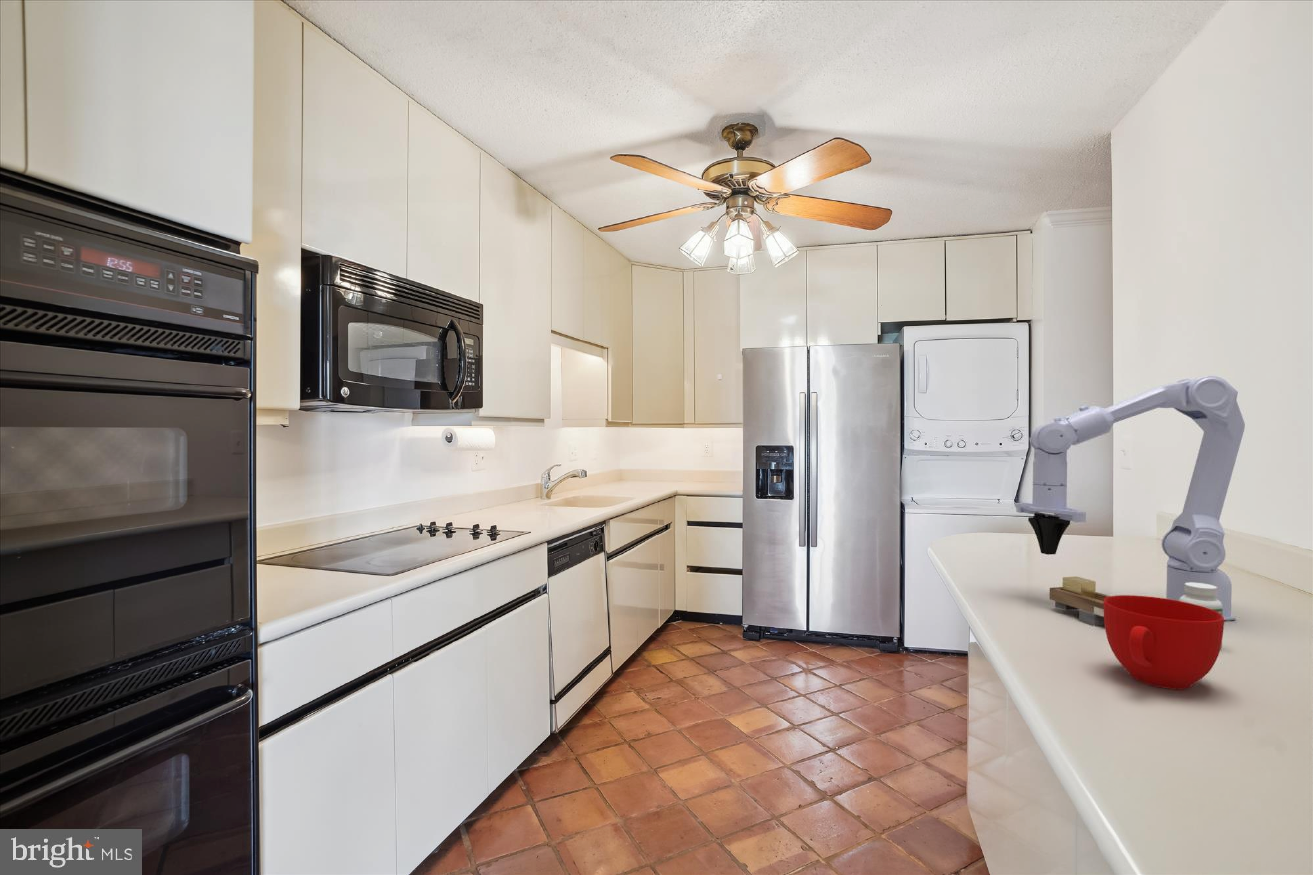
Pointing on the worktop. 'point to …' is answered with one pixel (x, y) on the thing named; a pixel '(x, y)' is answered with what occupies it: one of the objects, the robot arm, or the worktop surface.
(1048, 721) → the worktop surface
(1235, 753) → the worktop surface
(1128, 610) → the ceramic cup
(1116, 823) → the worktop surface
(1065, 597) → the beam
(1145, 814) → the worktop surface
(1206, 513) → the robot arm
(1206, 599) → the supplement bottle
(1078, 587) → the tan wooden block
